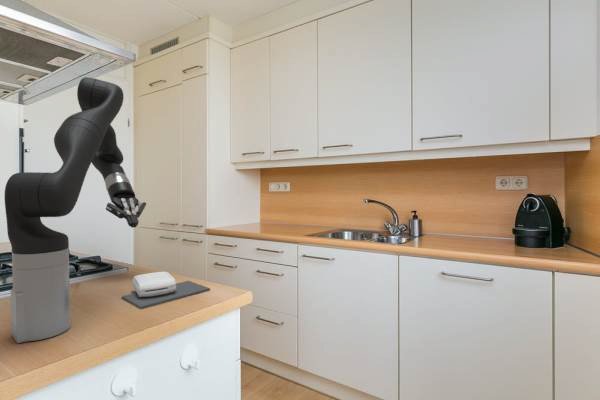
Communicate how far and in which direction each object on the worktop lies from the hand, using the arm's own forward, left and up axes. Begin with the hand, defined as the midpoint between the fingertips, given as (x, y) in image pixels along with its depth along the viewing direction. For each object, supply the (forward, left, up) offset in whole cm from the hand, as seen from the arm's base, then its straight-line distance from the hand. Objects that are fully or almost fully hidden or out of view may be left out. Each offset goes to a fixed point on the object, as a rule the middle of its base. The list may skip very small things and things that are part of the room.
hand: (134, 225), depth 106 cm
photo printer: (0, -12, -15) cm, 19 cm away
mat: (0, -21, -18) cm, 28 cm away
